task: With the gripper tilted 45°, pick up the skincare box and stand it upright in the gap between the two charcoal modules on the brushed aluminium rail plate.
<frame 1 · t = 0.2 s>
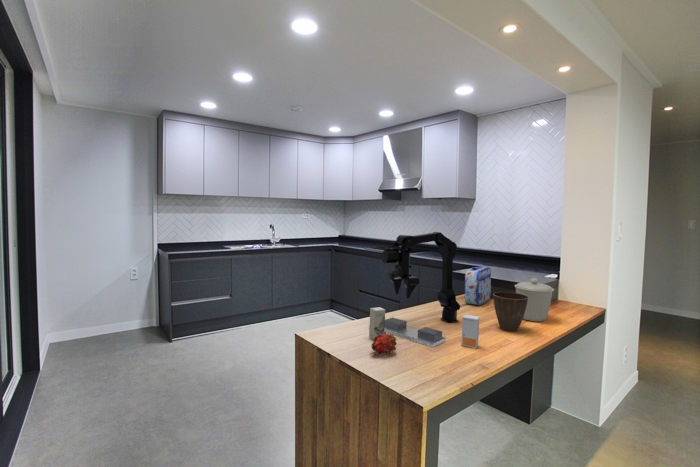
hand: (402, 296, 165), 15 cm above the table, tool pointing down, fingers open, 9 cm apart
rail plate: (411, 335, 155), on the table
dragon fruit: (383, 354, 135), on the table
skincare box: (469, 346, 145), on the table
plant pot: (508, 329, 167), on the table
canister: (532, 319, 184), on the table
lunch box: (477, 302, 216), on the table
box: (376, 339, 151), on the table
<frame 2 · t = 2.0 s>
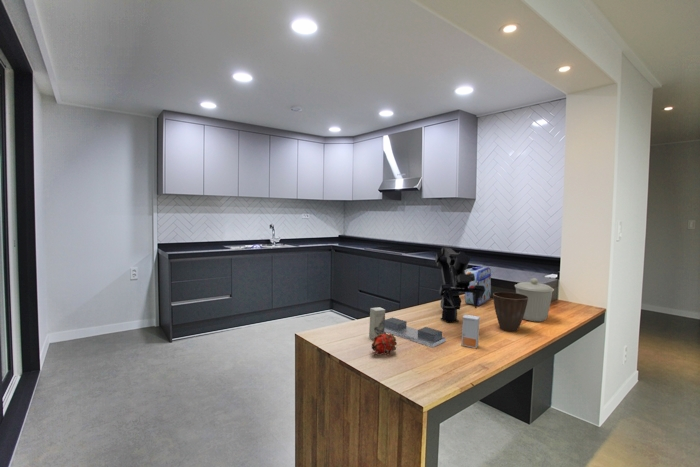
hand: (465, 307, 152), 13 cm above the table, tool tilted 45°, fingers open, 9 cm apart
nothing on the table moved.
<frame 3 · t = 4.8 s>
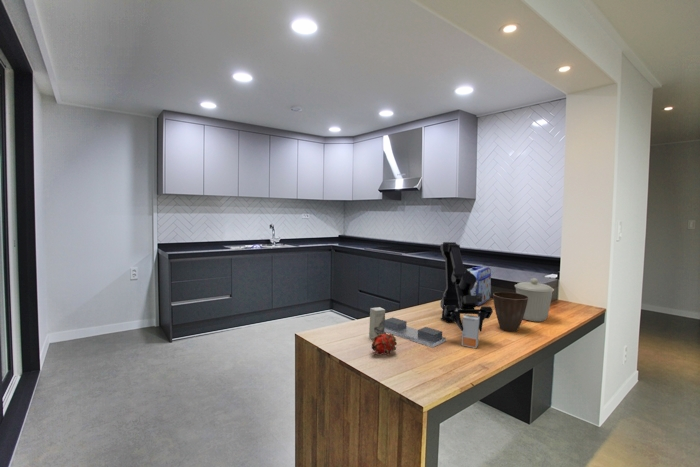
hand: (471, 330, 143), 7 cm above the table, tool tilted 45°, fingers closed on skincare box, 7 cm apart
skincare box: (469, 346, 145), on the table, touching gripper
everything else where it was.
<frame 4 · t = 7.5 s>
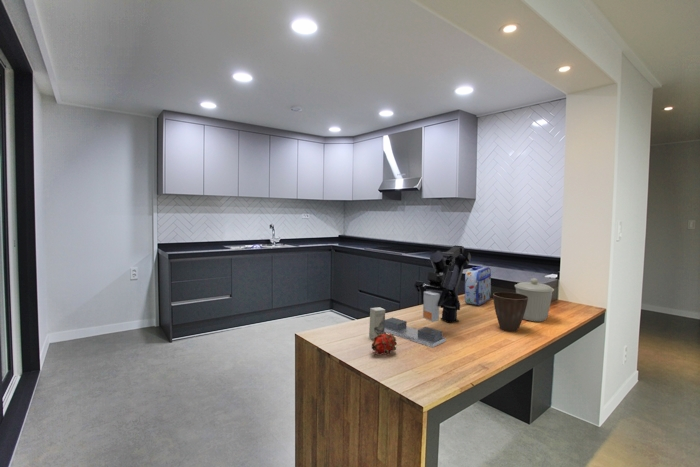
hand: (430, 305, 155), 13 cm above the table, tool tilted 45°, fingers closed on skincare box, 7 cm apart
skincare box: (430, 319, 157), point 7 cm above the table, touching gripper
everything else where it was.
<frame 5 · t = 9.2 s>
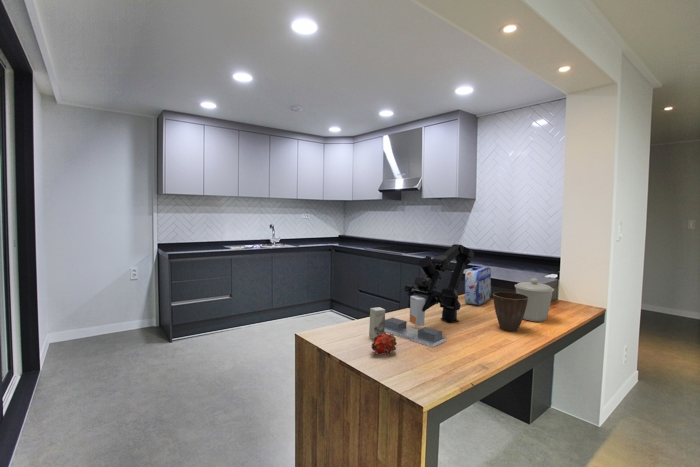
hand: (415, 309, 156), 11 cm above the table, tool tilted 45°, fingers closed on skincare box, 7 cm apart
skincare box: (416, 324, 157), point 4 cm above the table, touching gripper
everything else where it was.
when the fingers open (9 cm above the table, at t = 10.5 s): skincare box stays where it is, resting on rail plate.
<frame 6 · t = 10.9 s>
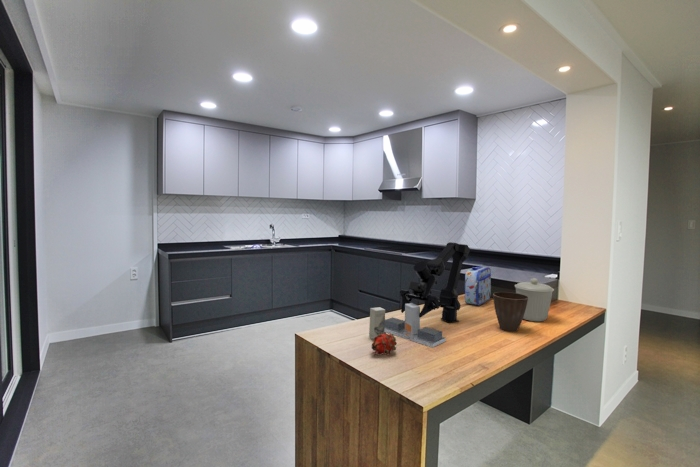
hand: (410, 314, 154), 10 cm above the table, tool tilted 45°, fingers open, 9 cm apart
skincare box: (412, 332, 155), point 1 cm above the table, touching rail plate
everything else where it was.
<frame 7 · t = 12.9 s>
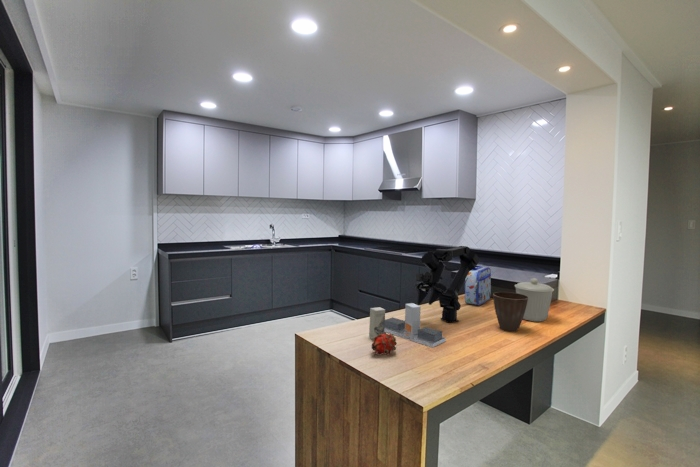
hand: (423, 304, 163), 12 cm above the table, tool tilted 30°, fingers open, 9 cm apart
nothing on the table moved.
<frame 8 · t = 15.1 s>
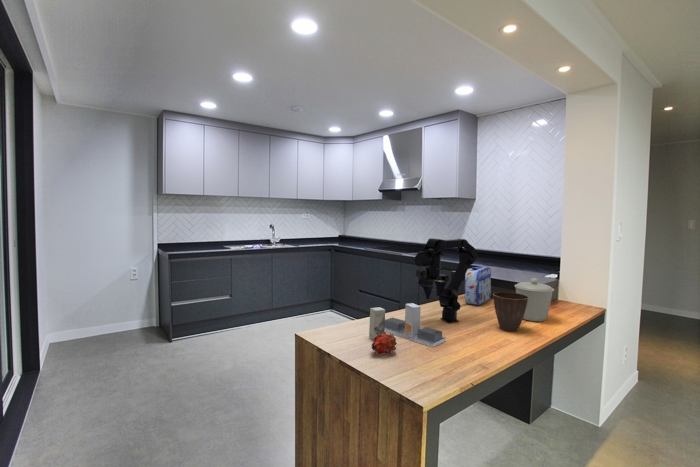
hand: (433, 297, 171), 13 cm above the table, tool pointing down, fingers open, 9 cm apart
nothing on the table moved.
at the end: skincare box 0.2 cm off-centre on the rail plate, point 1.3 cm above the rail plate's base; skincare box tilted 0°; the gripper is holding nothing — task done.
